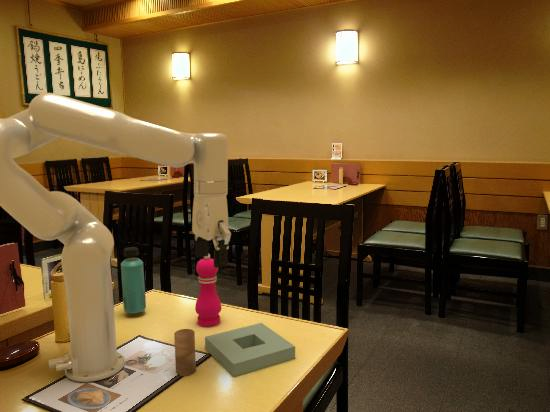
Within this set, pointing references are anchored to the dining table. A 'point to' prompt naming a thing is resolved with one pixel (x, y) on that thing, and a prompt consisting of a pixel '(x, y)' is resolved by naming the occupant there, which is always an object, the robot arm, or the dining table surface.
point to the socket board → (243, 361)
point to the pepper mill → (207, 294)
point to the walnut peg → (185, 352)
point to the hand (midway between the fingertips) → (211, 261)
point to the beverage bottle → (133, 282)
